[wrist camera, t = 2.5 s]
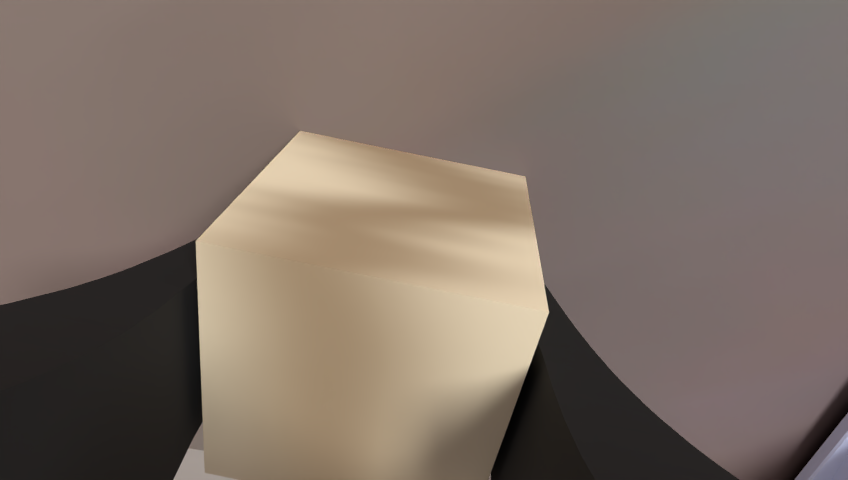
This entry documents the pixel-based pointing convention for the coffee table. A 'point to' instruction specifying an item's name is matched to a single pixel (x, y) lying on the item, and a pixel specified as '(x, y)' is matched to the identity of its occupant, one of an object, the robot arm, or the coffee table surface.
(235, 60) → the coffee table surface
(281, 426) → the maple cube
